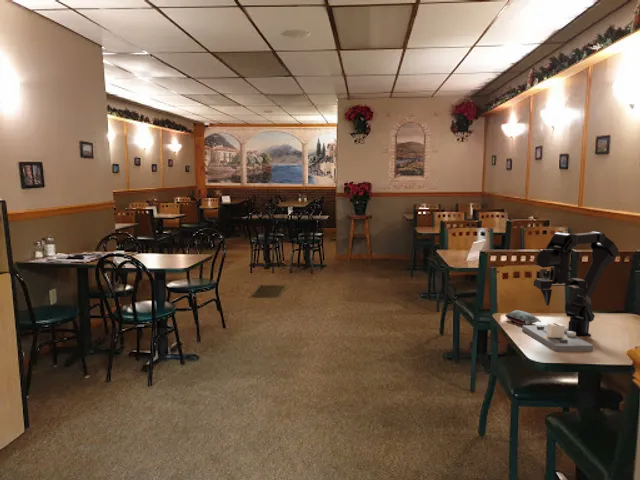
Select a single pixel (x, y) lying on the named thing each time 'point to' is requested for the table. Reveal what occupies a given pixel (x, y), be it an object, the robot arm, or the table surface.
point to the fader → (555, 330)
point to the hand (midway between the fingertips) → (558, 305)
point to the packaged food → (522, 317)
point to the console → (558, 339)
